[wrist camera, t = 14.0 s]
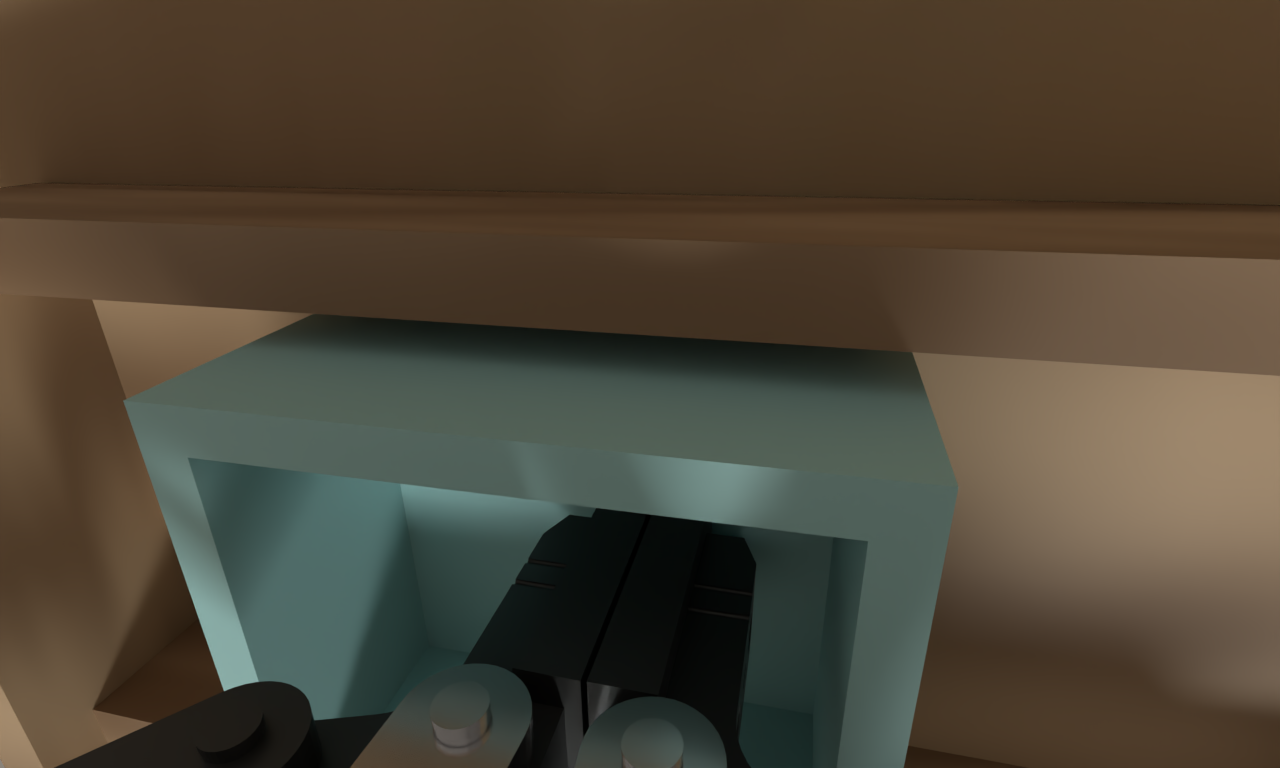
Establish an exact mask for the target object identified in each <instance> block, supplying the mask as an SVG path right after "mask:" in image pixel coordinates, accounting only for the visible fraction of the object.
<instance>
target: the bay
mask: <svg viewBox="0 0 1280 768" xmlns="http://www.w3.org/2000/svg"><path fill="white" fill-rule="evenodd" d="M312 314H324V315H339V316H355V317H370V318H386V319H402V320H417V321H433V322H448V323H464V324H479V325H495V326H511V327H526V328H542V329H557V330H573V331H588V332H604V333H619V334H635V335H651V336H666V337H682V338H697V339H713V340H728V341H744V342H759V343H775V344H791V345H806V346H822V347H837V348H853V349H868V350H884V351H900V352H912V353H913V356H914V359H915V362H916V365H917V367H918V370H919V373H920V376H921V379H922V382H923V385H924V388H925V391H926V394H927V397H928V399H929V402H930V405H931V408H932V411H933V414H934V417H935V420H936V423H937V426H938V429H939V431H940V434H941V437H942V440H943V443H944V446H945V449H946V452H947V455H948V458H949V461H950V464H951V466H952V469H953V472H954V475H955V478H956V481H957V484H958V487H959V488H958V493H957V498H956V503H955V508H954V513H953V518H952V524H951V529H950V534H949V539H948V544H947V549H946V554H945V559H944V564H943V569H942V575H941V580H940V585H939V590H938V595H937V600H936V605H935V610H934V615H933V620H932V626H931V631H930V636H929V641H928V646H927V651H926V656H925V661H924V666H923V671H922V677H921V682H920V687H919V692H918V697H917V702H916V707H915V712H914V717H913V723H912V728H911V733H910V738H909V743H908V748H907V753H906V758H905V763H904V768H1280V205H1231V204H1175V203H1119V202H1063V201H1006V200H950V199H894V198H838V197H782V196H726V195H670V194H613V193H557V192H501V191H445V190H389V189H333V188H277V187H221V186H164V185H108V184H52V183H35V184H27V185H20V186H12V187H4V188H0V759H1V761H2V763H3V765H4V767H5V768H54V767H57V766H59V765H61V764H63V763H65V762H68V761H70V760H72V759H74V758H77V757H79V756H81V755H83V754H85V753H88V752H90V751H92V750H94V749H96V748H99V747H101V746H103V745H105V744H108V743H110V742H112V741H114V740H116V739H119V738H121V737H123V736H125V735H128V734H130V733H132V732H134V731H136V730H139V729H141V728H143V727H145V726H148V725H150V724H152V723H154V722H156V721H159V720H161V719H163V718H165V717H168V716H170V715H172V714H174V713H176V712H179V711H181V710H183V709H185V708H188V707H190V706H192V705H194V704H196V703H199V702H201V701H203V700H205V699H207V698H210V697H212V696H214V695H216V694H219V693H221V692H223V691H224V690H223V687H222V684H221V681H220V678H219V675H218V672H217V669H216V667H215V664H214V661H213V658H212V655H211V652H210V649H209V646H208V644H207V641H206V638H205V635H204V632H203V629H202V626H201V623H200V620H199V618H198V615H197V612H196V609H195V606H194V603H193V600H192V597H191V595H190V592H189V589H188V586H187V583H186V580H185V577H184V574H183V572H182V569H181V566H180V563H179V560H178V557H177V554H176V551H175V548H174V546H173V543H172V540H171V537H170V534H169V531H168V528H167V525H166V523H165V520H164V517H163V514H162V511H161V508H160V505H159V502H158V500H157V497H156V494H155V491H154V488H153V485H152V482H151V479H150V476H149V474H148V471H147V468H146V465H145V462H144V459H143V456H142V453H141V451H140V448H139V445H138V442H137V439H136V436H135V433H134V430H133V428H132V425H131V422H130V419H129V416H128V413H127V410H126V407H125V404H124V402H123V400H126V399H128V398H130V397H132V396H134V395H137V394H139V393H141V392H143V391H145V390H148V389H150V388H152V387H154V386H156V385H158V384H161V383H163V382H165V381H167V380H169V379H172V378H174V377H176V376H178V375H180V374H183V373H185V372H187V371H189V370H191V369H194V368H196V367H198V366H200V365H202V364H205V363H207V362H209V361H211V360H213V359H216V358H218V357H220V356H222V355H224V354H227V353H229V352H231V351H233V350H235V349H238V348H240V347H242V346H244V345H246V344H248V343H251V342H253V341H255V340H257V339H259V338H262V337H264V336H266V335H268V334H270V333H273V332H275V331H277V330H279V329H281V328H284V327H286V326H288V325H290V324H292V323H295V322H297V321H299V320H301V319H303V318H306V317H308V316H310V315H312Z"/></svg>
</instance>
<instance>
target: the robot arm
mask: <svg viewBox="0 0 1280 768" xmlns="http://www.w3.org/2000/svg"><path fill="white" fill-rule="evenodd" d="M755 577H756V562H755V560H754V557H753V555H752V553H751V551H750V549H749V547H748V545H747V543H746V541H745V538H741V537H734V536H726V535H719V534H712V522H707V521H699V520H691V519H683V518H674V517H666V516H658V515H650V514H642V513H634V512H626V511H618V510H610V509H601V508H596V509H595V511H594V513H593V515H592V517H584V516H576V515H568V516H567V517H566V518H564V519H563V520H561V521H560V522H559V523H557V524H556V525H555V526H553V527H552V528H550V529H549V530H548V531H546V532H545V533H543V535H542V537H541V538H540V540H539V541H538V543H537V545H536V546H535V548H534V550H533V551H532V553H531V554H530V556H529V558H528V563H525V564H524V566H523V568H522V569H521V571H520V572H519V574H518V576H517V577H516V581H515V584H512V585H511V587H510V589H509V590H508V592H507V594H506V595H505V597H504V599H503V600H502V602H501V603H500V605H499V607H498V608H497V610H496V612H495V613H494V615H493V616H492V618H491V620H490V621H489V623H488V625H487V626H486V628H485V630H484V631H483V633H482V634H481V636H480V638H479V639H478V641H477V643H476V644H475V646H474V647H473V649H472V651H471V652H470V654H469V656H468V657H467V659H466V661H465V662H464V664H463V665H459V666H455V667H451V668H448V669H445V670H443V671H440V672H438V673H436V674H434V675H432V676H430V677H428V678H427V679H425V680H424V681H422V682H421V683H419V684H418V685H417V686H416V687H415V688H413V689H412V690H411V691H410V692H409V693H408V694H407V695H406V697H405V698H404V699H403V700H402V701H401V702H400V704H399V705H398V706H397V708H396V709H395V710H394V711H392V712H388V713H381V714H375V715H364V716H354V717H344V718H334V719H323V720H314V717H313V714H312V710H311V706H310V703H309V700H308V699H307V697H306V695H305V694H304V693H303V692H302V691H301V690H300V689H298V688H296V687H294V686H293V685H290V684H287V683H283V682H276V681H262V682H254V683H248V684H244V685H241V686H237V687H234V688H231V689H228V690H226V691H223V692H221V693H219V694H216V695H214V696H212V697H210V698H207V699H205V700H203V701H201V702H199V703H196V704H194V705H192V706H190V707H188V708H185V709H183V710H181V711H179V712H176V713H174V714H172V715H170V716H168V717H165V718H163V719H161V720H159V721H156V722H154V723H152V724H150V725H148V726H145V727H143V728H141V729H139V730H136V731H134V732H132V733H130V734H128V735H125V736H123V737H121V738H119V739H116V740H114V741H112V742H110V743H108V744H105V745H103V746H101V747H99V748H96V749H94V750H92V751H90V752H88V753H85V754H83V755H81V756H79V757H77V758H74V759H72V760H70V761H68V762H65V763H63V764H61V765H59V766H57V767H54V768H751V767H750V765H749V764H748V762H747V760H746V758H745V756H744V754H743V752H742V750H741V747H740V744H739V735H740V727H741V719H742V710H743V703H744V694H745V686H746V678H747V670H748V662H749V654H750V643H751V630H752V616H753V603H754V590H755Z"/></svg>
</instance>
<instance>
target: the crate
mask: <svg viewBox="0 0 1280 768" xmlns="http://www.w3.org/2000/svg"><path fill="white" fill-rule="evenodd" d="M123 402H124V404H125V407H126V410H127V413H128V416H129V419H130V422H131V425H132V428H133V430H134V433H135V436H136V439H137V442H138V445H139V448H140V451H141V453H142V456H143V459H144V462H145V465H146V468H147V471H148V474H149V476H150V479H151V482H152V485H153V488H154V491H155V494H156V497H157V500H158V502H159V505H160V508H161V511H162V514H163V517H164V520H165V523H166V525H167V528H168V531H169V534H170V537H171V540H172V543H173V546H174V548H175V551H176V554H177V557H178V560H179V563H180V566H181V569H182V572H183V574H184V577H185V580H186V583H187V586H188V589H189V592H190V595H191V597H192V600H193V603H194V606H195V609H196V612H197V615H198V618H199V620H200V623H201V626H202V629H203V632H204V635H205V638H206V641H207V644H208V646H209V649H210V652H211V655H212V658H213V661H214V664H215V667H216V669H217V672H218V675H219V678H220V681H221V684H222V687H223V690H224V691H226V690H228V689H231V688H234V687H237V686H241V685H244V684H248V683H254V682H262V681H276V682H283V683H287V684H290V685H293V686H294V687H296V688H298V689H300V690H301V691H302V692H303V693H304V694H305V695H306V697H307V699H308V700H309V703H310V706H311V710H312V714H313V717H314V720H323V719H334V718H344V717H354V716H364V715H375V714H381V713H388V712H392V711H394V710H395V709H396V708H397V706H398V705H399V704H400V702H401V701H402V700H403V699H404V698H405V697H406V695H407V694H408V693H409V692H410V691H411V690H412V689H413V688H415V687H416V686H417V685H418V684H419V683H421V682H422V681H424V680H425V679H427V678H428V677H430V676H432V675H434V674H436V673H438V672H440V671H443V670H445V669H448V668H451V667H455V666H459V665H463V664H464V662H465V661H466V659H467V657H468V656H469V654H470V652H471V651H472V649H473V647H474V646H475V644H476V643H477V641H478V639H479V638H480V636H481V634H482V633H483V631H484V630H485V628H486V626H487V625H488V623H489V621H490V620H491V618H492V616H493V615H494V613H495V612H496V610H497V608H498V607H499V605H500V603H501V602H502V600H503V599H504V597H505V595H506V594H507V592H508V590H509V589H510V587H511V585H512V584H515V581H516V577H517V576H518V574H519V572H520V571H521V569H522V568H523V566H524V564H525V563H528V558H529V556H530V554H531V553H532V551H533V550H534V548H535V546H536V545H537V543H538V541H539V540H540V538H541V537H542V535H543V533H545V532H546V531H548V530H549V529H550V528H552V527H553V526H555V525H556V524H557V523H559V522H560V521H561V520H563V519H564V518H566V517H567V516H568V515H576V516H584V517H592V515H593V513H594V511H595V509H596V508H601V509H610V510H618V511H626V512H634V513H642V514H650V515H658V516H666V517H674V518H683V519H691V520H699V521H707V522H712V534H719V535H726V536H734V537H741V538H745V541H746V543H747V545H748V547H749V549H750V551H751V553H752V555H753V557H754V560H755V562H756V577H755V590H754V603H753V616H752V630H751V643H750V654H749V662H748V670H747V678H746V686H745V694H744V703H743V710H742V719H741V727H740V735H739V744H740V747H741V750H742V752H743V754H744V756H745V758H746V760H747V762H748V764H749V765H750V767H751V768H904V763H905V758H906V753H907V748H908V743H909V738H910V733H911V728H912V723H913V717H914V712H915V707H916V702H917V697H918V692H919V687H920V682H921V677H922V671H923V666H924V661H925V656H926V651H927V646H928V641H929V636H930V631H931V626H932V620H933V615H934V610H935V605H936V600H937V595H938V590H939V585H940V580H941V575H942V569H943V564H944V559H945V554H946V549H947V544H948V539H949V534H950V529H951V524H952V518H953V513H954V508H955V503H956V498H957V493H958V488H959V487H958V484H957V481H956V478H955V475H954V472H953V469H952V466H951V464H950V461H949V458H948V455H947V452H946V449H945V446H944V443H943V440H942V437H941V434H940V431H939V429H938V426H937V423H936V420H935V417H934V414H933V411H932V408H931V405H930V402H929V399H928V397H927V394H926V391H925V388H924V385H923V382H922V379H921V376H920V373H919V370H918V367H917V365H916V362H915V359H914V356H913V353H912V352H900V351H884V350H868V349H853V348H837V347H822V346H806V345H791V344H775V343H759V342H744V341H728V340H713V339H697V338H682V337H666V336H651V335H635V334H619V333H604V332H588V331H573V330H557V329H542V328H526V327H511V326H495V325H479V324H464V323H448V322H433V321H417V320H402V319H386V318H370V317H355V316H339V315H324V314H312V315H310V316H308V317H306V318H303V319H301V320H299V321H297V322H295V323H292V324H290V325H288V326H286V327H284V328H281V329H279V330H277V331H275V332H273V333H270V334H268V335H266V336H264V337H262V338H259V339H257V340H255V341H253V342H251V343H248V344H246V345H244V346H242V347H240V348H238V349H235V350H233V351H231V352H229V353H227V354H224V355H222V356H220V357H218V358H216V359H213V360H211V361H209V362H207V363H205V364H202V365H200V366H198V367H196V368H194V369H191V370H189V371H187V372H185V373H183V374H180V375H178V376H176V377H174V378H172V379H169V380H167V381H165V382H163V383H161V384H158V385H156V386H154V387H152V388H150V389H148V390H145V391H143V392H141V393H139V394H137V395H134V396H132V397H130V398H128V399H126V400H123Z"/></svg>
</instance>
